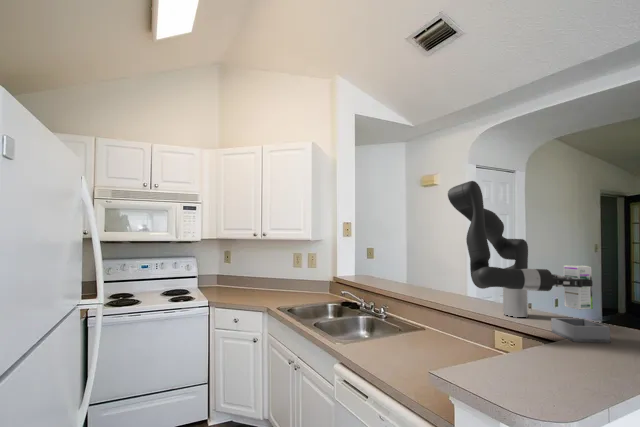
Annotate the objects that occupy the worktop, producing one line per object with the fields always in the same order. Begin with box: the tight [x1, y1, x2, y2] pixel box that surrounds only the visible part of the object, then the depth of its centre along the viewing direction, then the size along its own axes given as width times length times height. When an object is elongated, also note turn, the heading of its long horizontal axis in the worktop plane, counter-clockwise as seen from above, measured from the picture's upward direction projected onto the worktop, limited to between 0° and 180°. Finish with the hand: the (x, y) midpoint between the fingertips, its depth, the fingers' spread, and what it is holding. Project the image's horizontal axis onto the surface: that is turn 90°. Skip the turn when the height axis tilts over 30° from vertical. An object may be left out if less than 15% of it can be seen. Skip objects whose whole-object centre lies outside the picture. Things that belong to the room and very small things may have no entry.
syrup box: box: [563, 264, 594, 310], centre depth 121 cm, size 6×6×14 cm
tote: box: [550, 317, 611, 344], centre depth 121 cm, size 12×12×5 cm
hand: (584, 281), depth 121 cm, fingers closed on syrup box, 7 cm apart
